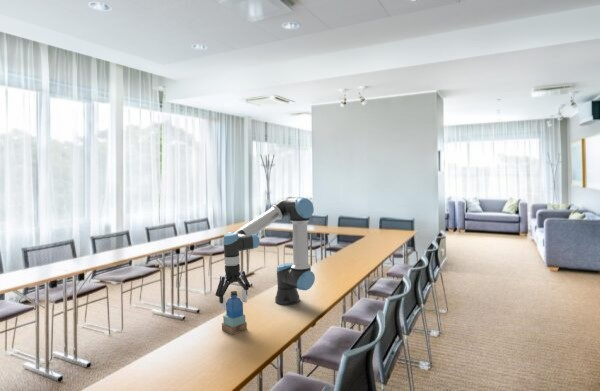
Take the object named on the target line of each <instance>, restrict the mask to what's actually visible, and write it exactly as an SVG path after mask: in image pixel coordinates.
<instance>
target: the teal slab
mask: <svg viewBox="0 0 600 391" xmlns="http://www.w3.org/2000/svg"><path fill="white" fill-rule="evenodd" d="M222 318H223V320H222V321H223V323H224V324H226V325H228V326H230V327H232V328H233V327H235V326H238V325H241V324H243V323H246V322H247V321H246V314H244V313H243V315H242V316H239V317H236V318H231V317H229V316H227V315H226V314H224V315H222Z"/></svg>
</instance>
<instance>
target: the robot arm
mask: <svg viewBox="0 0 600 391" xmlns="http://www.w3.org/2000/svg"><path fill="white" fill-rule="evenodd" d="M313 204H314V203H313V202H312V201H311V200H310V199H309V198H307V197H301V196H296V197H295V196H287V197H285V198H282V199H281V200H279V201H277V202H276V203H274V204H273V205H271V207H270V208H269V209H268V210H266V211H265V212H263V213H262V214H261V215H259V216H257V217H255V218H254V219H252V220H251V221H249V222H248V223H246V224H245V225H243V226H242V227H240V228H239V229H237V230H236V231H229V232H227V233H225V234H224V235H223V242H222V243H223V254H224V259H223V260H224V272H225V275H220V277H219V283H218V286H217V289H216V293H215V294H214V296H215V297H218V299H219V300H218V301H219V303H220V309H221V310H223V311H225V310H226V297H225V296H224V295H225V294H226V292H227V290H228V288H229V286H230V285H231V284H233V283H238V284H239V285H240V287H242V289H241V296H242V297H241V298H242V300H241V301H242V303H247V302H248V300H247V299H248V298H247V296H248V290H249V288H250V287H251V283H250V282H249V280H248V278H247V276H246V271H244V270H241V265H240V252H242V251H243V252H244V251H248V250H254V249H257V248H259V246H260V243H261V242H260V240H261V239H260V238H259V237H260V236H258V233H259V232H260V231H263V230H264V229H265V228H267V227H269V226H270V225H271V224H272V223H274V222H276V221H278V220H282V219H283V218H285V217H289V222H290V223H292V249H293V250H292V253H293V254H292V256H293V260H292V261H293V262H289V263H282V264H279V265H278V266H277V267H276V282H277V289H276V290H277V291H276V295H275V297H274V298H275V299H274V302H275V303H276V304H278V305H283V306H289V305H290V306H291V305H296V304H297V303H299V302H300V295H299V292H298V291H299V290H300V291H309V290H310V289H311V288H312V286H313V285H314V284H315V280H316V277H315V273H314V272H313V271H311V269H312V267H311V265H310V264H309V252H308V250H309V249H308V246H309V245H308V240H309V238H308V223H309V222H310V221H311V220H310V219H311V217H312V216H313V213H314V208H315V207H314V205H313ZM240 277H241V278H242V279H241V278H240ZM242 280H243V281H242Z"/></svg>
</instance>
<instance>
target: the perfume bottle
mask: <svg viewBox="0 0 600 391" xmlns="http://www.w3.org/2000/svg"><path fill="white" fill-rule="evenodd" d="M225 310H226V311H225V315H227V316H229V317H231V318H236V317H239V316H242V315H243V314H244V302H243V301H242V300H241V298H240V297H238V291H236V290H233V291H230V297H229V298H228V299H227V300H226V301H225Z"/></svg>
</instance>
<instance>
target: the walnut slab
mask: <svg viewBox="0 0 600 391" xmlns="http://www.w3.org/2000/svg"><path fill="white" fill-rule="evenodd" d="M247 325H248V324H247V321H246V323H243V324H241V325H238V326H235V327H233V328H232V327H230V326H228V325H226V324H224V322H222V323H221V330H222V331H224V332H225V333H227V334H229V335H231V336H233V335H236V334H239V333H241V332H244V331H246V330H248V326H247Z"/></svg>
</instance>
